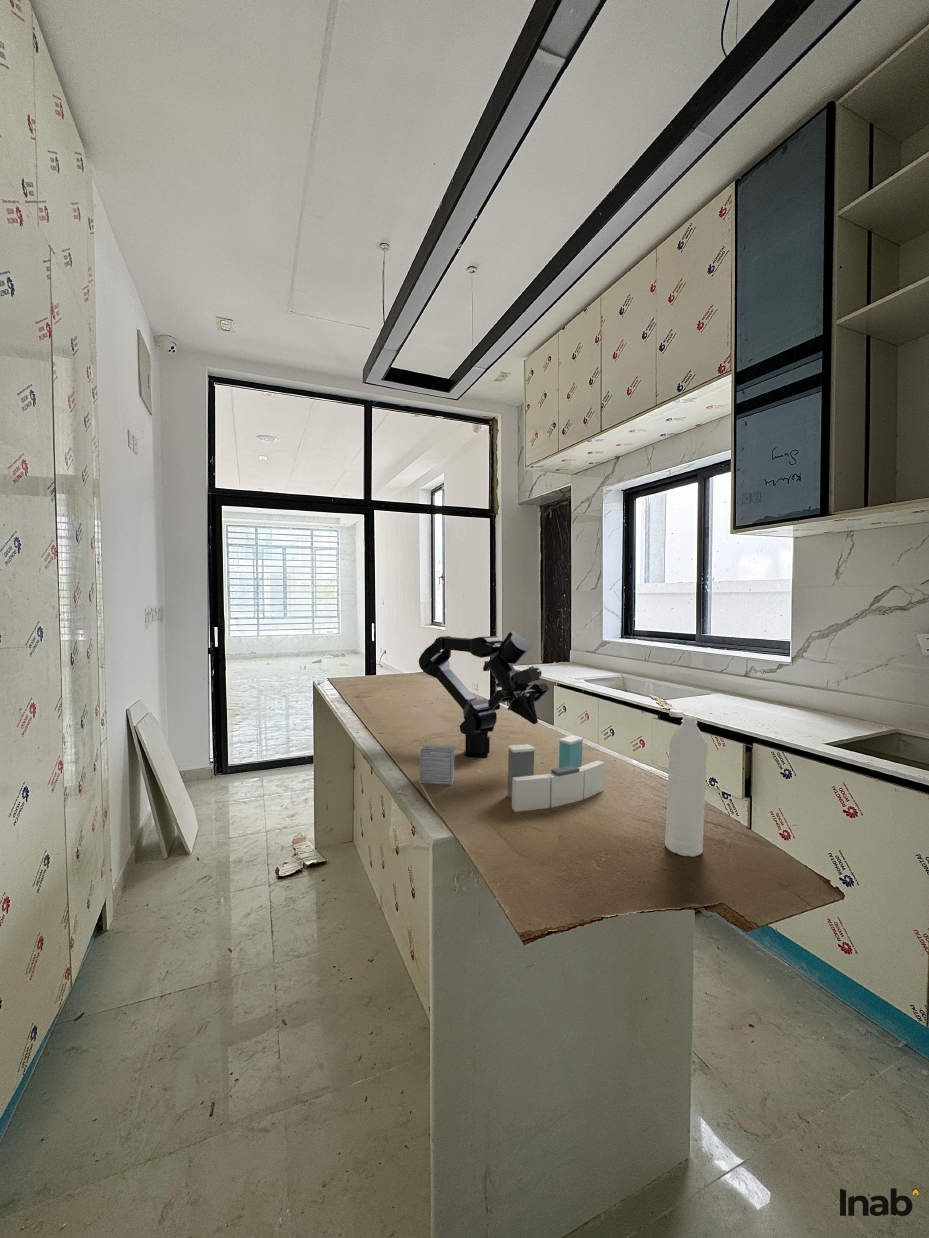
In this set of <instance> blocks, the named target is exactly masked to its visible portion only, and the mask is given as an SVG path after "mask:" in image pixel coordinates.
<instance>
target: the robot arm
mask: <svg viewBox="0 0 929 1238" xmlns="http://www.w3.org/2000/svg"><path fill="white" fill-rule="evenodd" d="M530 646H531V645H530V643H529V641H528V640H527V639H525V638H524V637H523V636H521V635H520V634H518V633H517V632H516V631H510V632H508V634H507V635H506V637H505V638H504V640H500V637H498V636H497V635H493V636H492V635H491V636H489V635H487V636H478V637H473V638H468V637H457V636H456V637H455V636H451V635H444V636H439V637H437V638H436V639H435V640H434V642H433V643H431V644H430V645H429V646H428V647H426V648H425V649H424V650H423V652H422V653H421V655H420V656H419V658H418V666H419V668H420V670H421V671H423V672H424V673H425V674H426V675H428V676H430V677H432V678H436V679H437V680H438V682H439V683H440V684H441V685H442V686H443V687H444V689H445V690H446V692H448V694H449V695H450V696H451V697H452V698H453V700H454V701H455V702H456V703H457V704H458V705H459V707H460V708H461V709H462V712H463V719H464V720H463V721H462V722H461V724H460V725H459V731H460V734H463V735H465V740H464V741H465V742H464V743H465V744H464V745H465V747H464V748H465V749H464V757H476V758H478V757H479V758H480V757H481V758H488V754H490V752H491V751H490V749H491V747H490V746H491V736H489V733H491V732H494V729H495V725H496V723H497V717H498V716H497V715H498V713H497V712H496V711H498V710H500V709H501V704H502V703H507V702H508V705H509V706H508V707H507V708H506V709H507V710H508V711H510V712H513V714H514V713H515V714H517V715H518V716H520V717H521V718H524V719H525V720H527V721H528V722H529V723H531V724H533V725H537V724H538V722H539V720H538V717H537V712H536V708H535V703H537V702H539V701H540V700H541V698H542V697H544V696H545V694H547V693H548V692H549V690H550V688H549V686H548V685H547V684H546V683H547V682H537V683H533V684H531V683H532V682H534V681H539V680H540V679H541V678H540V677H542V670H541V669H540V668H539V666H538V665H536V664H535V665H532V666H529V667H528V668H526V669H522V670H519V669H517V670H516V669H515V668H514V666H513V664H514V665H515V664H517V663H519V661H520V660H521V659H522V658H523V657H524V655H526V653H527V652H528V651H529V650H530V648H531V647H530ZM452 651H453V652H454V651H456V652H457V651H458V652H465V653H467V652H468V653H470V654H471V655H472V656H475V657H477V658H479V659H480V658H481V659H483V658H489V657H490V659H489V660H487V661H486V660H485V661H484V665H483V668H482V671H483V672H491V674H492V675H493V677H494V678H495V680H496V683H495V687H496V688H497V689H498V688H501V689H499V690H496V691H495V692H494V694H492V696H491V697H490V698H489V699H487V698H485V697H484V698H480V699H478V698H476V697H475V695H473V693H472V692H471V690H469V689H468V688H467V687H466V685H465V684H464V683H463V682H462V681H461V680H460V678H459V677H458V676H457V675H456V674H455V673H454V672H453V670H451V668H450V661H449V659H450V658H451V656H452ZM528 688H529V689H528Z"/></svg>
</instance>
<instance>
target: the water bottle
mask: <svg viewBox="0 0 929 1238" xmlns="http://www.w3.org/2000/svg"><path fill="white" fill-rule="evenodd" d="M669 716H670V717H674V718H682V720H681V721H680V722H681V724H680V726H678V727H677V728H676V730H675V731H674V732H673V734H672V735H671V736H670V739H669V744H668V745H669V747H668V748H669V749H668V750H669V754H668V773H667V774H668V775H667V776H668V777H667V778H668V779H667V792H666V793H667V794H666V801H667V803H666V815H665V820H666V822H665V835H664V836H665V837H664V844H665V847H666V848H667V849H668V851H670V852H672V853H674V854H677V855H679V856H682V857H691V858H692V857H697V856H700V855H701V854H702V853H703V850H704V824H705V806H706V798H705V797H706V784H707V783H706V782H707V781H706V779H707V766H708V765H707V763H708V762H707V761H708V741H707V740H706V737H704V735H703V733H702V731H701V730H700V728H699V727H698V725H697V724H698V721H697V717H696V716H695V715H694V716H692V715H684V711H683V710H681V709H672V708H671V709H669Z"/></svg>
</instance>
